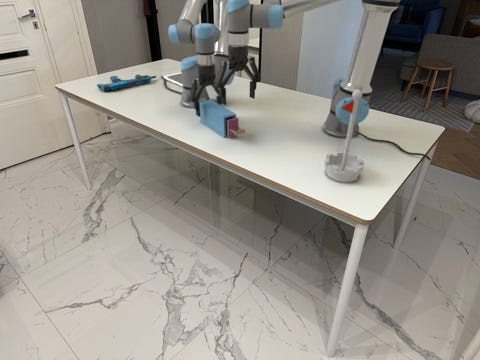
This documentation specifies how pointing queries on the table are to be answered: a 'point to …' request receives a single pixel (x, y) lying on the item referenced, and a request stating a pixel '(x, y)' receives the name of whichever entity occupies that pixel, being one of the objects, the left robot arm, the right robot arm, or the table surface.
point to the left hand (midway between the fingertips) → (208, 113)
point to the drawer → (233, 127)
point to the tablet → (175, 78)
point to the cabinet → (215, 116)
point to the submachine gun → (124, 82)
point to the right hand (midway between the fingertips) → (238, 100)
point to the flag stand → (346, 151)
